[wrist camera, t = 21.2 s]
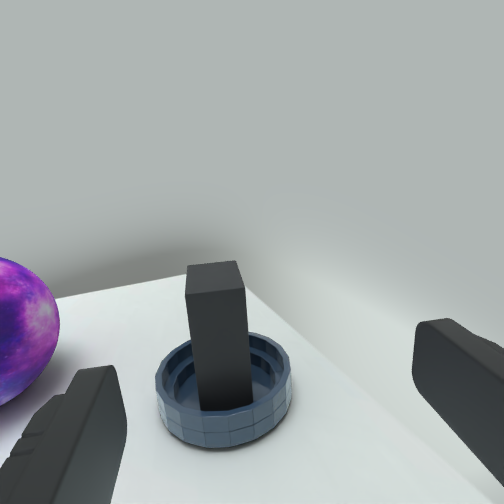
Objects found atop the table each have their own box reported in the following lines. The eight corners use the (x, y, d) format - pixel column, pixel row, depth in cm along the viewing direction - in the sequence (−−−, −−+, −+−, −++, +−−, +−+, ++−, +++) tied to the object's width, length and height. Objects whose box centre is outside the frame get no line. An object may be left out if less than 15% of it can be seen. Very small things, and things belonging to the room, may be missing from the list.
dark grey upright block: (244, 368, 35) (235, 260, 31) (254, 414, 29) (245, 286, 25) (201, 374, 34) (187, 265, 31) (202, 423, 28) (184, 294, 25)
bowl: (285, 355, 37) (284, 328, 36) (297, 450, 26) (296, 414, 25) (178, 360, 38) (174, 332, 37) (142, 454, 26) (134, 419, 25)
